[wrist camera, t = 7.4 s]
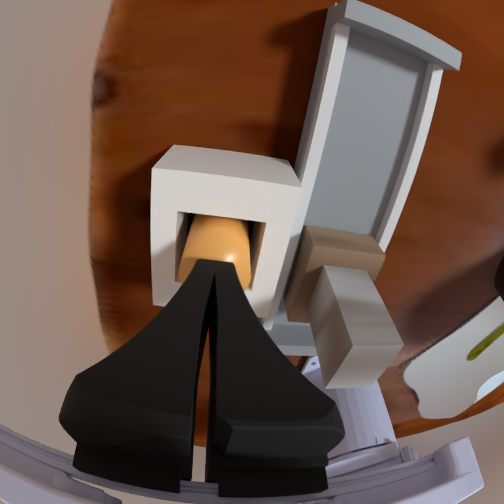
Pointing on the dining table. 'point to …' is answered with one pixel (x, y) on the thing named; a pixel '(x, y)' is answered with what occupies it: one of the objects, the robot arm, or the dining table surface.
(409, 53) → the rail track
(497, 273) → the coffee mug
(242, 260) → the orange egg
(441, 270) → the dining table surface
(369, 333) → the carriage
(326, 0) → the dining table surface
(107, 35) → the dining table surface
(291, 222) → the white hollow block
